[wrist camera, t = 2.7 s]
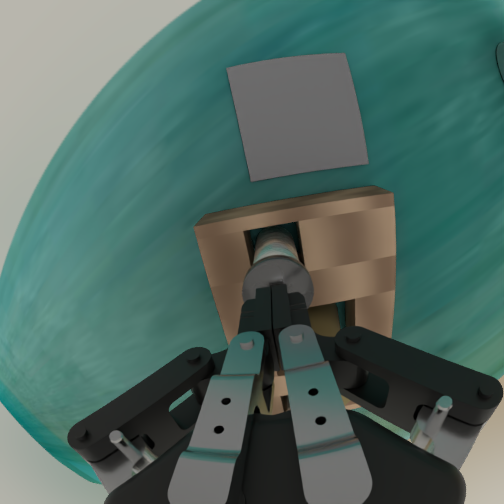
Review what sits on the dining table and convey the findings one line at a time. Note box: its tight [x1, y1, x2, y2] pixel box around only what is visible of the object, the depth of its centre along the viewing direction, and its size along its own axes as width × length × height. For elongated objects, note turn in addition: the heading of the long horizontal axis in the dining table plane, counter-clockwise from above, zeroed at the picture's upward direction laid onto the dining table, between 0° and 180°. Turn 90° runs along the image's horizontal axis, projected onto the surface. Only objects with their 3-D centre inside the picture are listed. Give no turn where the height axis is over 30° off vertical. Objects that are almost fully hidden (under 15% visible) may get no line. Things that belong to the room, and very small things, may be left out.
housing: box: [194, 186, 396, 415], centre depth 25 cm, size 15×24×4 cm, turn 12°
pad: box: [226, 53, 369, 182], centre depth 20 cm, size 10×10×1 cm
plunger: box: [242, 226, 314, 309], centre depth 18 cm, size 4×4×8 cm
